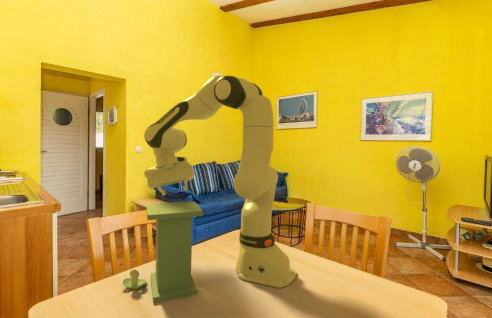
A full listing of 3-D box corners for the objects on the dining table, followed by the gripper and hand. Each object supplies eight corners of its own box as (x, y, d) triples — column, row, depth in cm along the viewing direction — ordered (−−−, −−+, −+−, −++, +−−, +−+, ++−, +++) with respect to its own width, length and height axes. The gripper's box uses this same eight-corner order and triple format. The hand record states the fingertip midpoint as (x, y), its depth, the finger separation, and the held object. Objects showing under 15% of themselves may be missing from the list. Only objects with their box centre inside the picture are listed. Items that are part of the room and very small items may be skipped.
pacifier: (129, 280, 92) (120, 290, 86) (130, 262, 92) (120, 270, 86) (150, 282, 92) (142, 292, 86) (151, 264, 91) (142, 272, 85)
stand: (202, 293, 86) (203, 211, 84) (147, 303, 80) (147, 216, 78) (192, 271, 100) (194, 200, 97) (146, 278, 94) (146, 203, 91)
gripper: (142, 166, 117) (149, 195, 112) (189, 156, 125) (198, 183, 119) (143, 172, 122) (150, 200, 117) (188, 163, 130) (197, 189, 125)
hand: (175, 192), depth 118 cm, fingers open, 8 cm apart
